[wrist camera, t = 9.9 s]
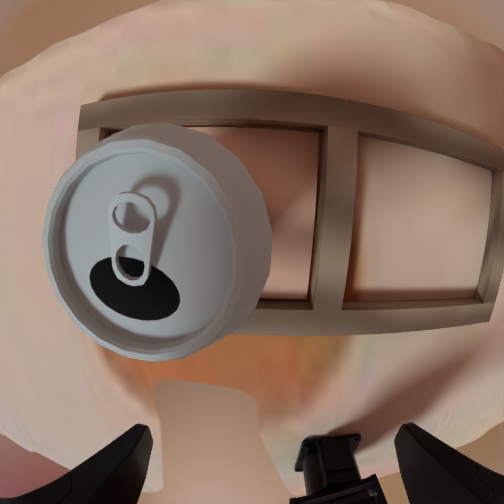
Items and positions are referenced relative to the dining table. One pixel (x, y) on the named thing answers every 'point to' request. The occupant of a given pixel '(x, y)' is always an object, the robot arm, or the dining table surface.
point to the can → (157, 242)
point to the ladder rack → (304, 198)
